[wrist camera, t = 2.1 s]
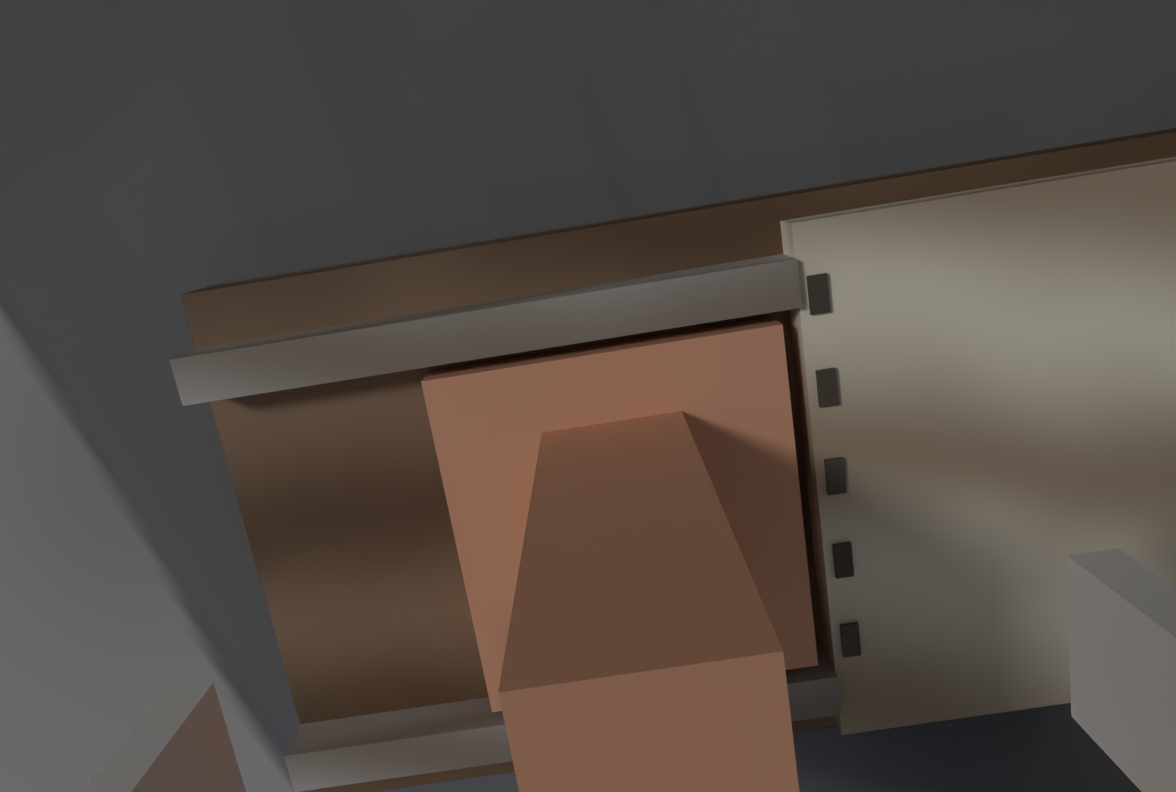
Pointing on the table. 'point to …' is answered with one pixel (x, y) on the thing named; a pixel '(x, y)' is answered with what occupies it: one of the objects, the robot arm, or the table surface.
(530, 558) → the stub
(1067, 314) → the board
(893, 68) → the table surface
